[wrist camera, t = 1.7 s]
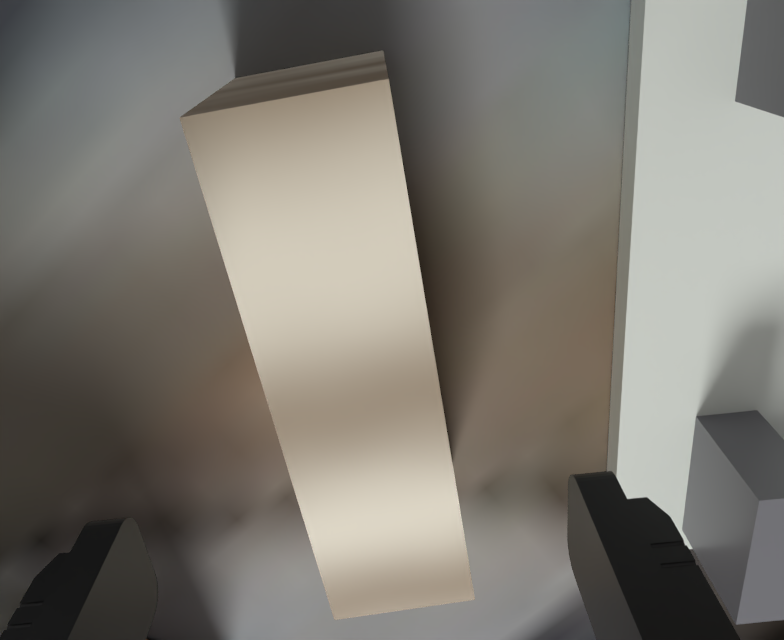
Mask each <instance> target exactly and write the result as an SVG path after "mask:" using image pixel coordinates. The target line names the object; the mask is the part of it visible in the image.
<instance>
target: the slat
mask: <svg viewBox="0 0 784 640" xmlns="http://www.w3.org/2000/svg"><path fill="white" fill-rule="evenodd" d="M180 121H181V124H182V127H183V131H184V134H185V137H186V140H187V144H188V147H189V150H190V153H191V156H192V160H193V163H194V166H195V169H196V173H197V176H198V179H199V182H200V186H201V189H202V192H203V195H204V199H205V202H206V205H207V208H208V212H209V215H210V218H211V221H212V225H213V228H214V231H215V234H216V238H217V241H218V244H219V247H220V250H221V254H222V257H223V260H224V263H225V267H226V270H227V273H228V276H229V280H230V283H231V286H232V289H233V293H234V296H235V299H236V302H237V306H238V309H239V312H240V315H241V319H242V322H243V325H244V328H245V332H246V335H247V338H248V341H249V344H250V348H251V351H252V354H253V357H254V361H255V364H256V367H257V370H258V374H259V377H260V380H261V383H262V387H263V390H264V393H265V396H266V400H267V403H268V406H269V409H270V413H271V416H272V419H273V422H274V426H275V429H276V432H277V435H278V438H279V442H280V445H281V448H282V451H283V455H284V458H285V461H286V464H287V468H288V471H289V474H290V477H291V481H292V484H293V487H294V490H295V494H296V497H297V500H298V503H299V507H300V510H301V513H302V516H303V520H304V523H305V526H306V529H307V532H308V536H309V539H310V542H311V545H312V549H313V552H314V555H315V558H316V562H317V565H318V568H319V571H320V575H321V578H322V581H323V584H324V588H325V591H326V594H327V597H328V601H329V604H330V607H331V610H332V614H333V617H334V620H338V619H345V618H352V617H359V616H366V615H373V614H380V613H386V612H393V611H400V610H407V609H414V608H421V607H428V606H435V605H442V604H449V603H455V602H462V601H469V600H475V597H474V591H473V585H472V579H471V573H470V567H469V561H468V555H467V549H466V543H465V537H464V531H463V525H462V519H461V513H460V506H459V500H458V494H457V488H456V482H455V476H454V470H453V464H452V458H451V452H450V446H449V440H448V434H447V428H446V422H445V416H444V410H443V404H442V398H441V392H440V386H439V380H438V374H437V367H436V361H435V355H434V349H433V343H432V337H431V331H430V325H429V319H428V313H427V307H426V301H425V295H424V289H423V283H422V277H421V271H420V265H419V259H418V253H417V247H416V241H415V234H414V228H413V222H412V216H411V210H410V204H409V198H408V192H407V186H406V180H405V174H404V168H403V162H402V156H401V150H400V144H399V138H398V132H397V126H396V120H395V114H394V108H393V101H392V95H391V89H390V83H389V78H388V72H387V67H386V62H385V57H384V52H383V51H377V52H372V53H367V54H361V55H356V56H351V57H345V58H340V59H335V60H329V61H324V62H319V63H313V64H308V65H303V66H297V67H292V68H287V69H281V70H276V71H271V72H266V73H260V74H255V75H250V76H244V77H239V78H235V79H233V80H232V81H231V82H229V83H228V84H226V85H225V86H223V87H222V88H221V89H219V90H218V91H216V92H215V93H214V94H212V95H211V96H209V97H208V98H207V99H205V100H204V101H202V102H201V103H199V104H198V105H197V106H195V107H194V108H192V109H191V110H190V111H188V112H187V113H185V114H184V115H183V116H181V117H180Z"/></svg>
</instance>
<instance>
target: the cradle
mask: <svg viewBox="0 0 784 640" xmlns="http://www.w3.org/2000/svg"><path fill="white" fill-rule="evenodd" d="M607 471H612V472H613V473H614V474H615V476H616V478H617V480H618V482H619V484H620V486H621V488H622V490H623V492H624V494H625V495H626V497H627V499H632V498H643V497H647V498H649V499H650V500H651V501H652V502H653V503H655V504H656V505H657V506H658V507H659V508H661V509H662V510H663V511H664V512H665V513H667V514H668V515H669V516H670V517H671V519H672V520H673V522H674V524H675V526H676V527H677V529H678V531H679V533H680V534H681V536H682V538H683V540H684V544H685V545H687V547H688V548H689V549H693V550H694V552H695V554H696V555H697V557H698V559H699V561H700V562H701V564H702V566H703V568H704V569H705V571H706V573H707V575H708V576H709V578H710V580H711V582H712V583H713V585H714V587H715V589H716V590H717V592H718V594H719V596H720V597H721V599H722V601H723V603H724V604H725V606H726V608H727V610H728V611H729V613H730V615H731V617H732V618H733V620H734V622H735V624H747V623H757V622H768V621H778V620H784V0H631V13H630V32H629V51H628V71H627V90H626V109H625V128H624V147H623V166H622V186H621V205H620V224H619V243H618V262H617V281H616V300H615V320H614V339H613V358H612V377H611V396H610V415H609V435H608V454H607Z"/></svg>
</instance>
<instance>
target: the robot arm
mask: <svg viewBox="0 0 784 640" xmlns="http://www.w3.org/2000/svg"><path fill="white" fill-rule="evenodd" d="M568 550H569V556H570V561H571V566H572V570H573V573H574V576H575V579H576V582H577V585H578V588H579V591H580V593H581V596H582V599H583V602H584V605H585V608H586V611H587V614H588V616H589V619H590V622H591V625H592V628H593V631H594V634H595V637H596V640H740V638H739V636H738V635H737V633H736V631H735V629H734V628H733V626H732V624H731V622H730V621H729V619H728V617H727V615H726V613H725V612H724V610H723V608H722V606H721V605H720V603H719V601H718V599H717V598H716V596H715V594H714V592H713V591H712V589H711V587H710V585H709V584H708V582H707V580H706V578H705V577H704V575H703V573H702V571H701V570H700V568H699V566H698V565H697V566H696V563H695V559H694V557H693V556H692V554H691V552H690V550H689V548H688V547H687V545H685V544H684V540H683V538H682V536H681V534H680V533H679V531H678V529H677V527H676V526H675V524H674V522H673V520H672V519H671V517H670V516H669V515H668V514H667V513H665V512H664V511H663V510H662V509H661V508H659V507H658V506H657V505H656V504H655V503H653V502H652V501H651V500H650V499H649V498H647V497H643V498H632V499H627V497H626V495H625V494H624V492H623V490H622V488H621V486H620V484H619V482H618V480H617V478H616V476H615V474H614V473H613V472H612V471H605V472H595V473H585V474H575V475H570V477H569V481H568ZM157 600H158V585H157V578H156V575H155V572H154V569H153V566H152V564H151V561H150V558H149V555H148V552H147V550H146V547H145V544H144V541H143V539H142V536H141V533H140V530H139V527H138V525H137V523H136V521H135V520H134V519H133V518H121V519H111V520H101V521H91V522H89V523H87V524H86V525H85V526H84V528H83V530H82V531H81V533H80V535H79V537H78V539H77V541H76V543H75V544H74V546H73V548H72V550H71V552H70V553H61V554H58V555H57V556H56V557H55V558H54V559H53V560H52V561H51V562H50V563H49V564H48V565H47V566H46V567H45V568H44V569H43V570H42V571H41V572H40V573H39V574H38V575H37V576H36V577H35V578H34V580H33V581H32V583H31V585H30V587H29V588H28V590H27V592H26V594H25V595H24V597H23V599H22V601H21V602H20V608H17V609H16V611H15V613H14V614H13V616H12V618H11V620H10V621H9V623H8V629H7V630H4V632H3V633H2V635H1V637H0V640H146V637H147V634H148V632H149V629H150V626H151V623H152V620H153V617H154V614H155V611H156V607H157Z"/></svg>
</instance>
